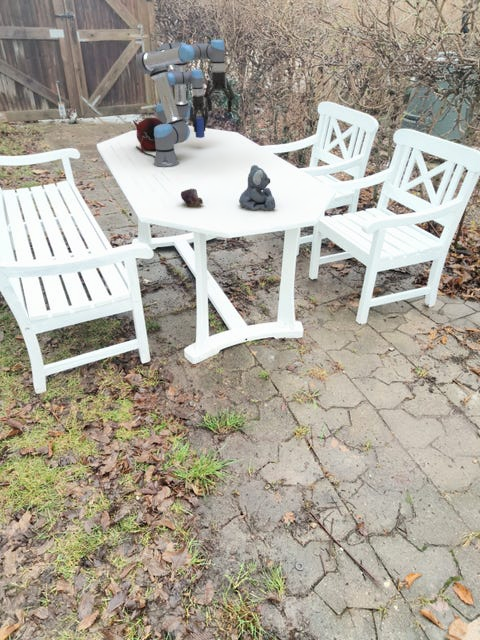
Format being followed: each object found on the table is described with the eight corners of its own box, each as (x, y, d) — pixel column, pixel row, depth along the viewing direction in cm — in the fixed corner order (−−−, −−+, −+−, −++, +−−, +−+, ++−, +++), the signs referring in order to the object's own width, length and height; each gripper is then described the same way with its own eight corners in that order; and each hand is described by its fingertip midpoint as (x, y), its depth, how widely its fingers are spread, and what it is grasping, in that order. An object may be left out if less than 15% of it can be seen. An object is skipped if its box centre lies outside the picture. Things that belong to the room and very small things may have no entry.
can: (203, 137, 318) (202, 119, 311) (194, 137, 319) (193, 118, 312) (205, 135, 323) (204, 117, 316) (196, 135, 324) (195, 117, 317)
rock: (196, 202, 238) (178, 205, 233) (194, 185, 234) (176, 188, 230) (205, 205, 228) (187, 208, 224) (203, 188, 224) (185, 191, 220)
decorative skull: (136, 123, 331) (129, 120, 308) (167, 116, 330) (163, 112, 307) (144, 153, 338) (138, 152, 315) (174, 146, 337) (171, 145, 314)
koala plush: (276, 211, 223) (277, 171, 212) (240, 212, 222) (240, 172, 211) (271, 199, 237) (272, 161, 226) (237, 200, 236) (237, 162, 225)
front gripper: (240, 71, 255) (241, 112, 267) (203, 69, 265) (205, 109, 277) (234, 73, 250) (235, 114, 262) (196, 71, 259) (198, 111, 272)
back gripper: (188, 97, 299) (190, 134, 312) (212, 94, 307) (214, 130, 321) (182, 96, 304) (185, 132, 317) (207, 93, 312) (208, 128, 326)
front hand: (219, 111), depth 269 cm, fingers open, 13 cm apart
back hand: (199, 131), depth 319 cm, fingers closed on can, 6 cm apart
